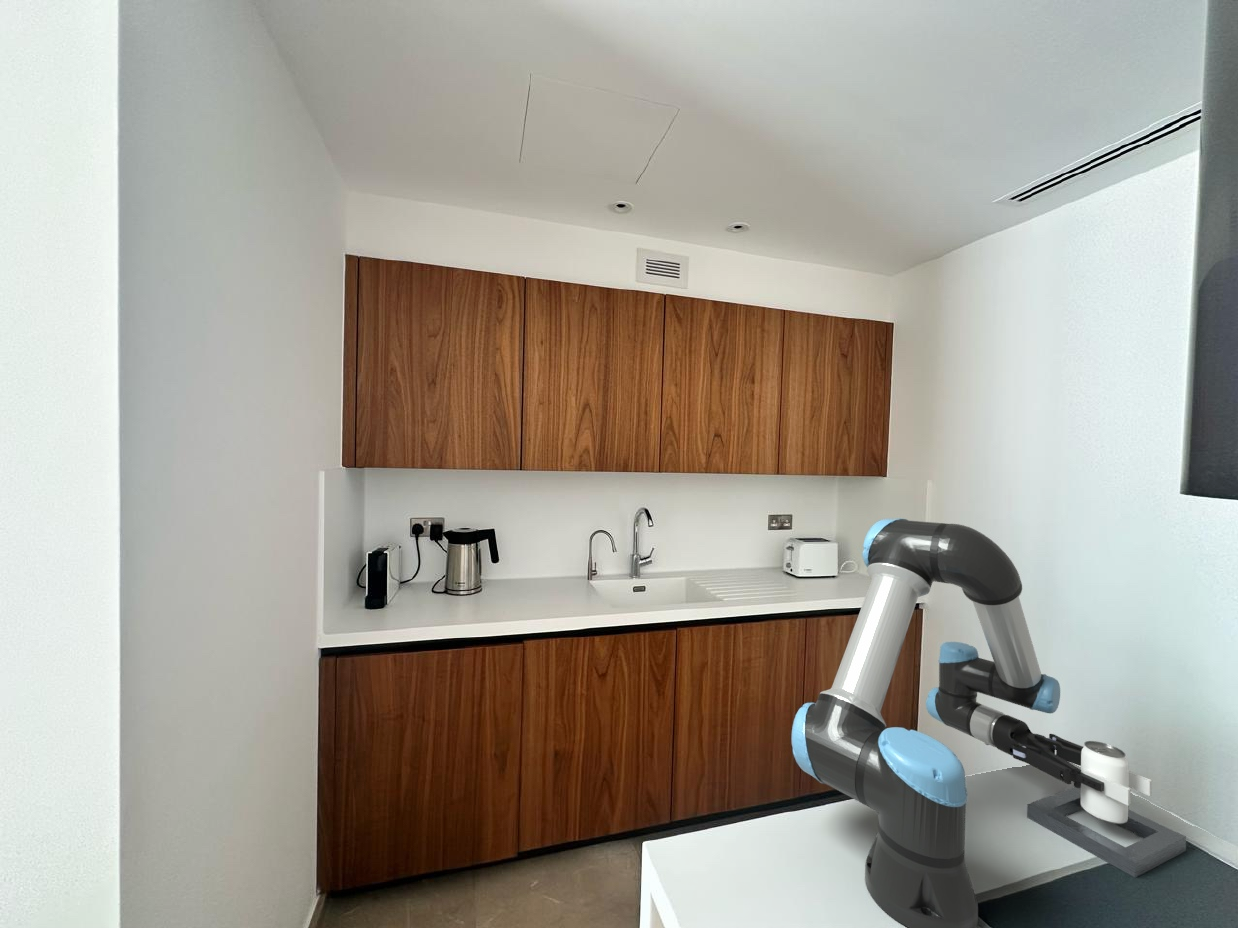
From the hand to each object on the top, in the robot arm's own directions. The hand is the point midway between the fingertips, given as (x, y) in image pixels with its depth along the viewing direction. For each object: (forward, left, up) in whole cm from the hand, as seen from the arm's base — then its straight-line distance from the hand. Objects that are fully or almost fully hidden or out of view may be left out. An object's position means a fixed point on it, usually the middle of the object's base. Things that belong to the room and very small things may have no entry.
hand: (1139, 792), depth 92 cm
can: (0, +5, -7) cm, 9 cm away
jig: (0, +5, -10) cm, 11 cm away
